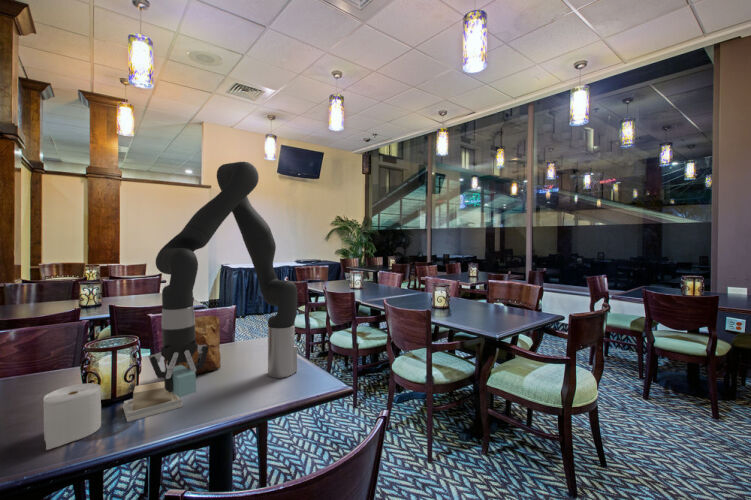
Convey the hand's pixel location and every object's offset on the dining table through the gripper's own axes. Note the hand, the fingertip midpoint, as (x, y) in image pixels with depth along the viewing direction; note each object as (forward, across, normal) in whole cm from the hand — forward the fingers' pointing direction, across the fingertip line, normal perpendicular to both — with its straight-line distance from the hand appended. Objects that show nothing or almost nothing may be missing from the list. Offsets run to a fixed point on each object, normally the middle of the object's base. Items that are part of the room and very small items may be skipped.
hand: (180, 388), depth 91 cm
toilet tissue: (+8, -22, +10) cm, 25 cm away
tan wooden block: (+7, -4, +13) cm, 15 cm away
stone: (+9, +10, +33) cm, 36 cm away
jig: (+8, -5, +13) cm, 16 cm away
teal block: (0, 0, 0) cm, 0 cm away
